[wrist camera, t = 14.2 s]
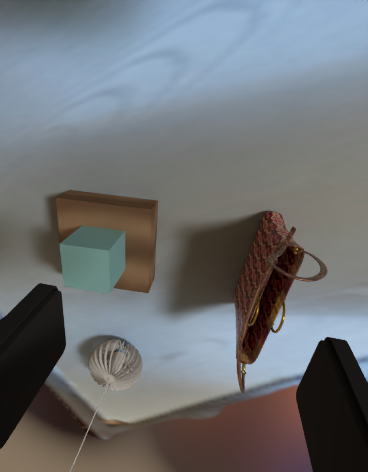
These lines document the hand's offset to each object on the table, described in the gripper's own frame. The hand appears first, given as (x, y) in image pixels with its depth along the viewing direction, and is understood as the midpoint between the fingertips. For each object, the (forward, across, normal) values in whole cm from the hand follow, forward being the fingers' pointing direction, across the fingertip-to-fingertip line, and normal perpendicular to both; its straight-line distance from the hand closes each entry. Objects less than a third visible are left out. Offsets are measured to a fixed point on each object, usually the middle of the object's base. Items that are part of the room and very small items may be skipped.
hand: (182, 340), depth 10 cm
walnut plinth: (+30, +13, +13) cm, 35 cm away
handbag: (+30, -7, +11) cm, 33 cm away
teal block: (+26, +13, +13) cm, 32 cm away
